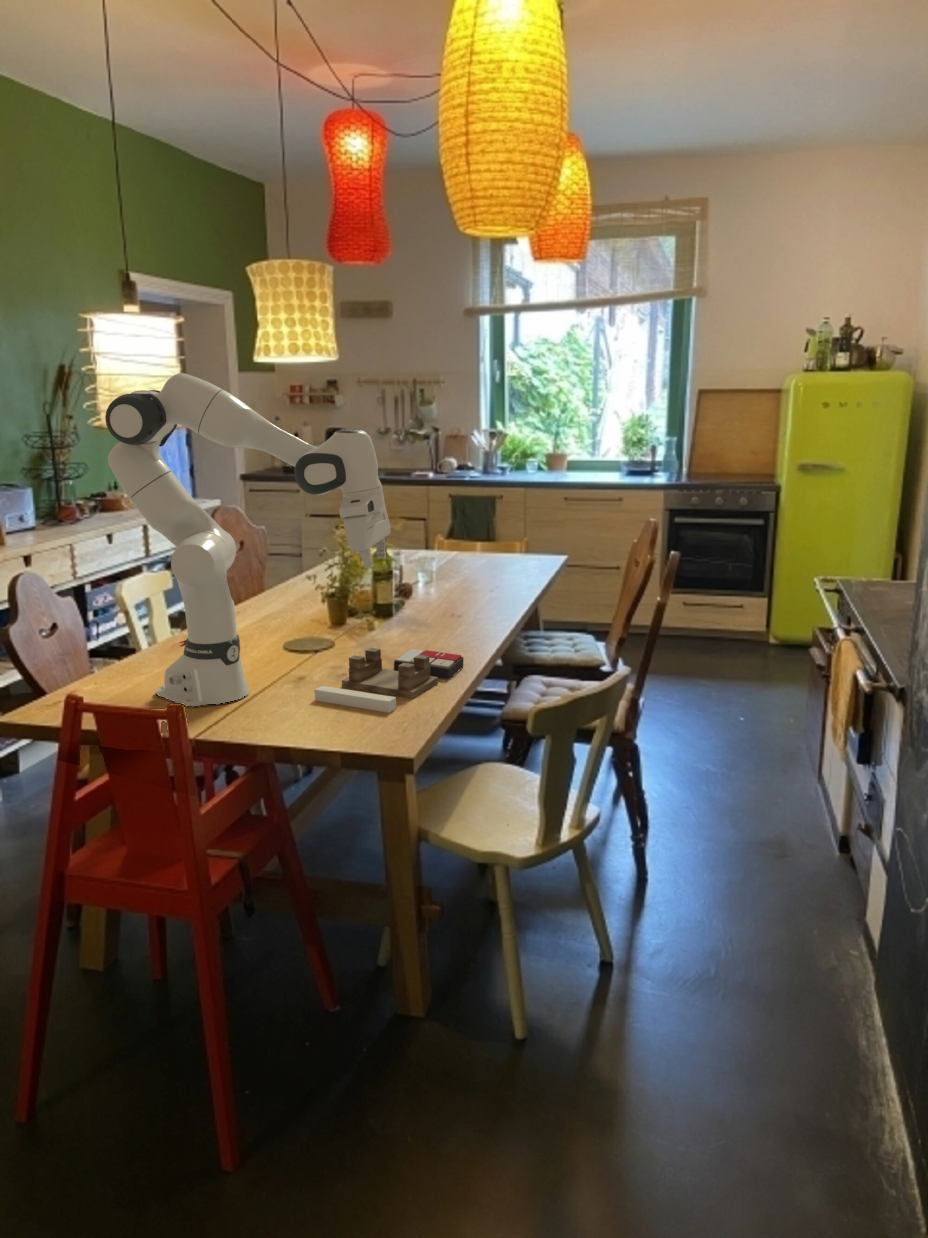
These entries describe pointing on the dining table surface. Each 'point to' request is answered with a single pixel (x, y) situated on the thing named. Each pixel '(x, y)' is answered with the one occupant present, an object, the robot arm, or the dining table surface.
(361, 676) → the rack
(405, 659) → the calculator
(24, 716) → the dining table surface
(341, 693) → the clay strip
